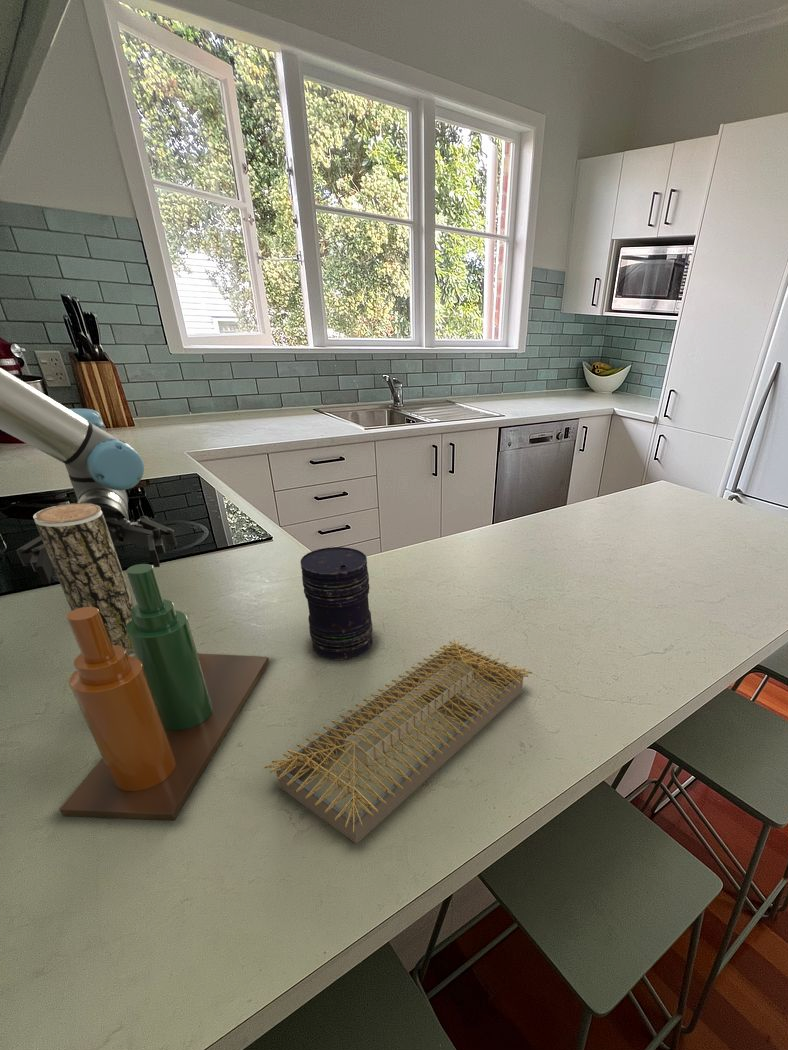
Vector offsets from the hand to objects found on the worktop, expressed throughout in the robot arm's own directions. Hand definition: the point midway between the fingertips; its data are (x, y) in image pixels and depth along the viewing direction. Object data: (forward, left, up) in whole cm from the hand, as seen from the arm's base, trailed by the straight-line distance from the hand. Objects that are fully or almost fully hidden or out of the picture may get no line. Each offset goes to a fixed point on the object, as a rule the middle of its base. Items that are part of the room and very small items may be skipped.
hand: (100, 566), depth 77 cm
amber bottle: (+16, -26, -14) cm, 34 cm away
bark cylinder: (+4, -8, -14) cm, 17 cm away
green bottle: (+16, -16, -14) cm, 27 cm away
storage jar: (+32, +4, -14) cm, 36 cm away
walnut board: (+16, -17, -14) cm, 27 cm away
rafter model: (+47, -17, -14) cm, 52 cm away
